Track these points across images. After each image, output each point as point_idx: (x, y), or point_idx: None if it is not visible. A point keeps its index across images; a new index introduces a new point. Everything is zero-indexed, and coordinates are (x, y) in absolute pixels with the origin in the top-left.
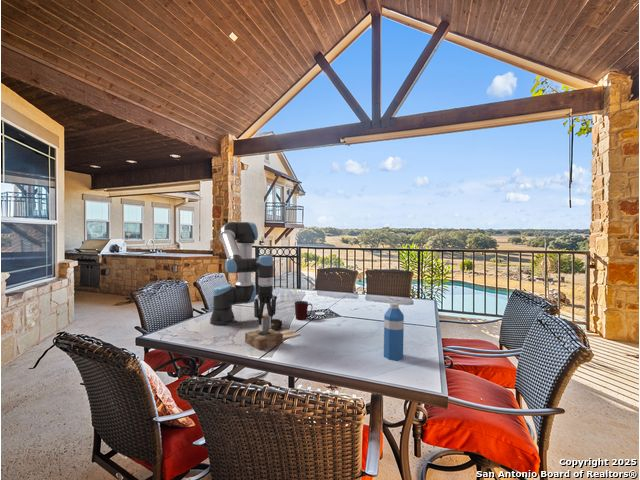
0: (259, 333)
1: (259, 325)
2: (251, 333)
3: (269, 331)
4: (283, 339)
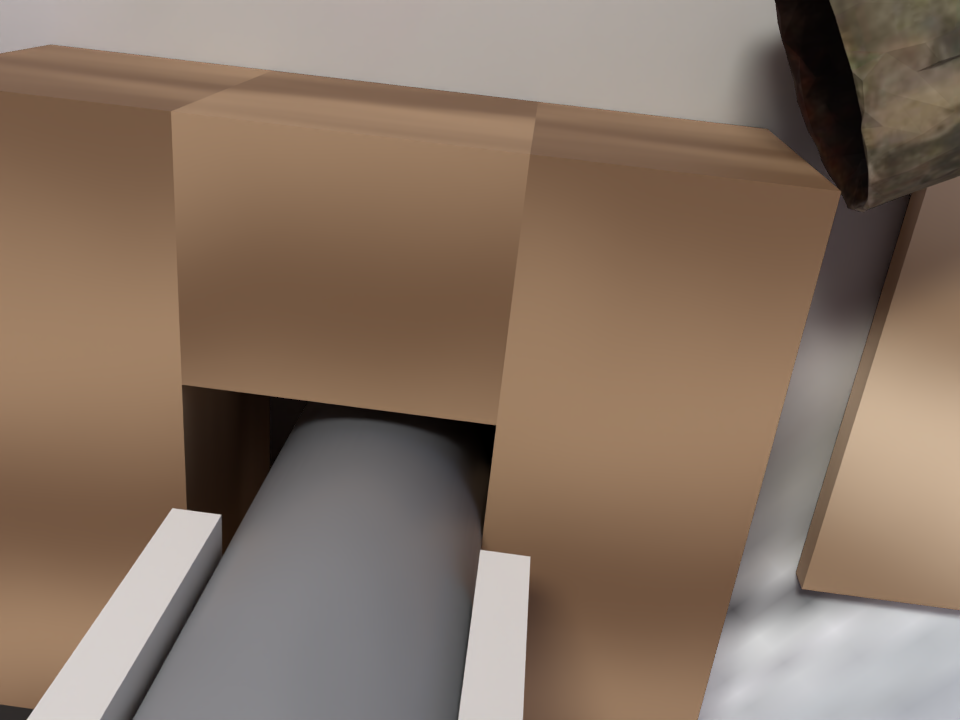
0: (279, 385)
1: (97, 641)
2: (35, 270)
3: (565, 526)
4: (817, 578)
